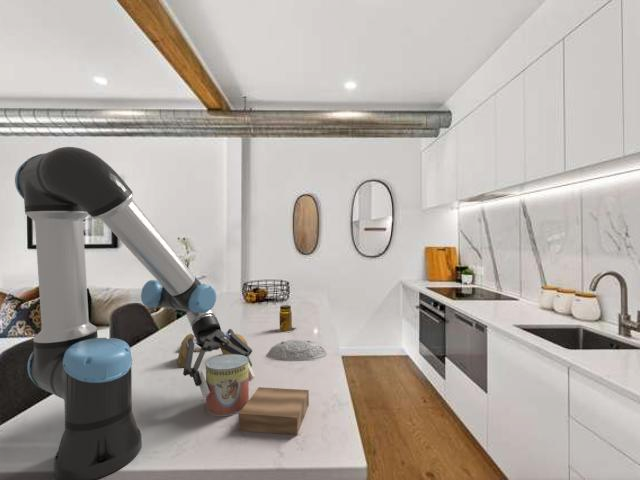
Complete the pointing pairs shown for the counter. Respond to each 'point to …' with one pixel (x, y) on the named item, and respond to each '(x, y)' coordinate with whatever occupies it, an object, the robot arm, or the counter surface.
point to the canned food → (227, 384)
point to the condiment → (285, 319)
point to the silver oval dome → (297, 351)
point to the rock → (183, 351)
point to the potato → (230, 342)
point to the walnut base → (274, 411)
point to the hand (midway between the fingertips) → (230, 387)
